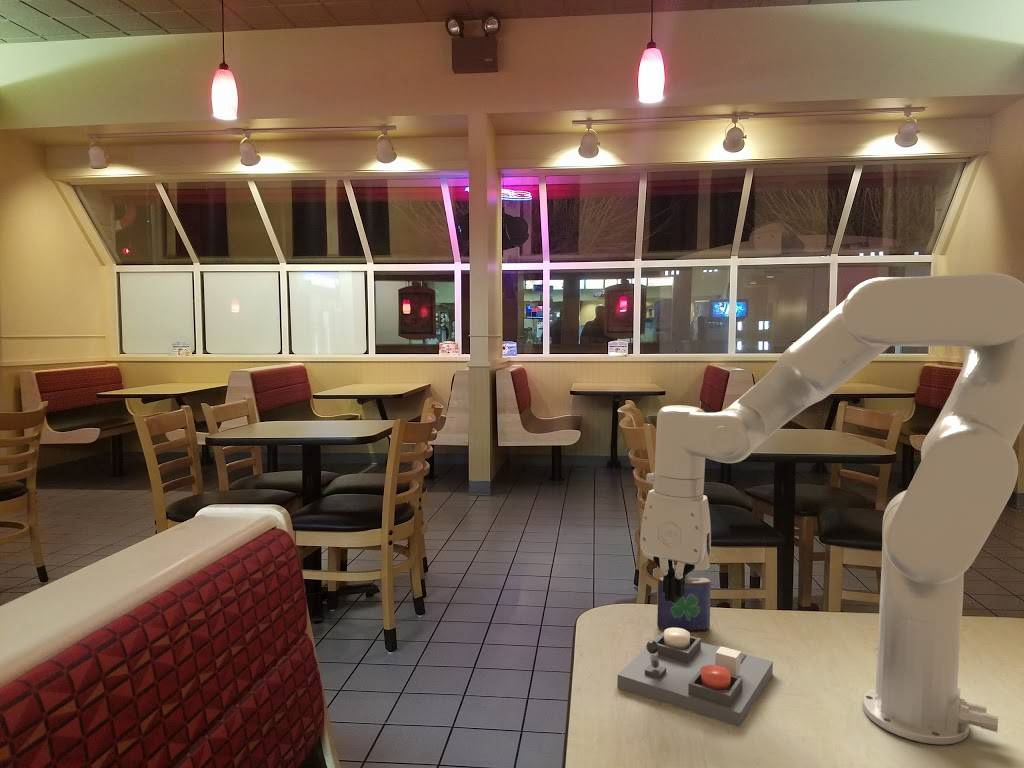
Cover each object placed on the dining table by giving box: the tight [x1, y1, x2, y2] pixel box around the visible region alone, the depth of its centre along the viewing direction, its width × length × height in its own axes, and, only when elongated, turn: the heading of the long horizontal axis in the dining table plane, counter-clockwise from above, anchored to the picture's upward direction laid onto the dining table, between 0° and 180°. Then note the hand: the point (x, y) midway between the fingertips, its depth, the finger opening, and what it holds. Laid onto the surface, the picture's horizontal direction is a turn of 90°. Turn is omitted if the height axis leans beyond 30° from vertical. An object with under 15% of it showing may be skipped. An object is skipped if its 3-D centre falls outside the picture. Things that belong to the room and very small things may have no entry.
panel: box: [616, 631, 774, 728], centre depth 104 cm, size 18×17×4 cm
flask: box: [656, 572, 712, 633], centre depth 122 cm, size 9×3×11 cm, turn 88°
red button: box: [701, 665, 731, 690], centre depth 98 cm, size 4×4×2 cm
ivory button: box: [663, 628, 691, 649], centre depth 110 cm, size 4×4×2 cm
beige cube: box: [715, 646, 742, 676], centre depth 102 cm, size 3×2×3 cm
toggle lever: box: [645, 640, 659, 668], centre depth 102 cm, size 2×2×5 cm
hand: (673, 598), depth 109 cm, fingers closed
